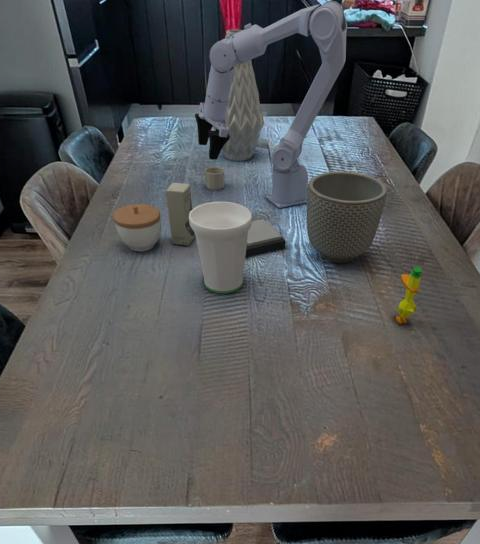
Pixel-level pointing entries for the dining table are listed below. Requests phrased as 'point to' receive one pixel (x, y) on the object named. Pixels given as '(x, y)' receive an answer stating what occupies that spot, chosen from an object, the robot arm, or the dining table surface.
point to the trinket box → (138, 226)
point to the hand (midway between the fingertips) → (207, 151)
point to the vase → (242, 112)
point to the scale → (263, 239)
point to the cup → (221, 243)
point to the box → (180, 213)
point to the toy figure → (409, 294)
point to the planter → (343, 213)
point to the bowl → (214, 178)
